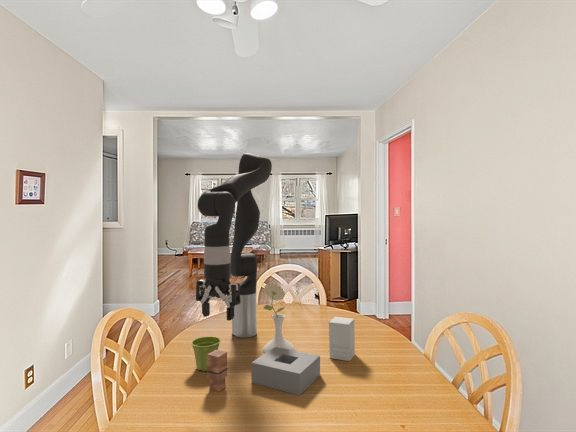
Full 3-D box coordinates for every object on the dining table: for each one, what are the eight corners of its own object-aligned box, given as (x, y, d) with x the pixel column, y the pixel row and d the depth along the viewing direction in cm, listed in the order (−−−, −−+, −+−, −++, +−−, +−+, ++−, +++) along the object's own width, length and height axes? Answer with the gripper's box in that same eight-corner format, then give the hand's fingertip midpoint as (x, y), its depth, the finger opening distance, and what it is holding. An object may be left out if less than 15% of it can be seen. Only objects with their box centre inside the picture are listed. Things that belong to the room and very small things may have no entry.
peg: (207, 389, 104) (206, 354, 104) (216, 383, 108) (216, 349, 108) (218, 392, 102) (218, 357, 102) (227, 386, 106) (227, 351, 106)
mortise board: (251, 382, 108) (251, 362, 108) (275, 364, 120) (275, 346, 120) (299, 395, 100) (299, 373, 100) (320, 374, 113) (320, 355, 113)
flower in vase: (301, 354, 129) (301, 283, 129) (279, 364, 121) (278, 289, 120) (275, 345, 138) (274, 279, 137) (252, 354, 129) (252, 283, 129)
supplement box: (355, 353, 129) (355, 318, 129) (349, 361, 122) (349, 324, 122) (335, 350, 132) (335, 316, 132) (328, 358, 125) (328, 321, 125)
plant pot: (189, 364, 121) (189, 338, 121) (217, 359, 125) (217, 334, 125) (193, 376, 113) (193, 348, 112) (224, 370, 116) (223, 343, 116)
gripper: (245, 261, 105) (245, 317, 105) (206, 258, 111) (207, 311, 111) (229, 264, 98) (230, 325, 98) (189, 261, 105) (189, 318, 105)
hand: (217, 317), depth 105 cm, fingers open, 8 cm apart
